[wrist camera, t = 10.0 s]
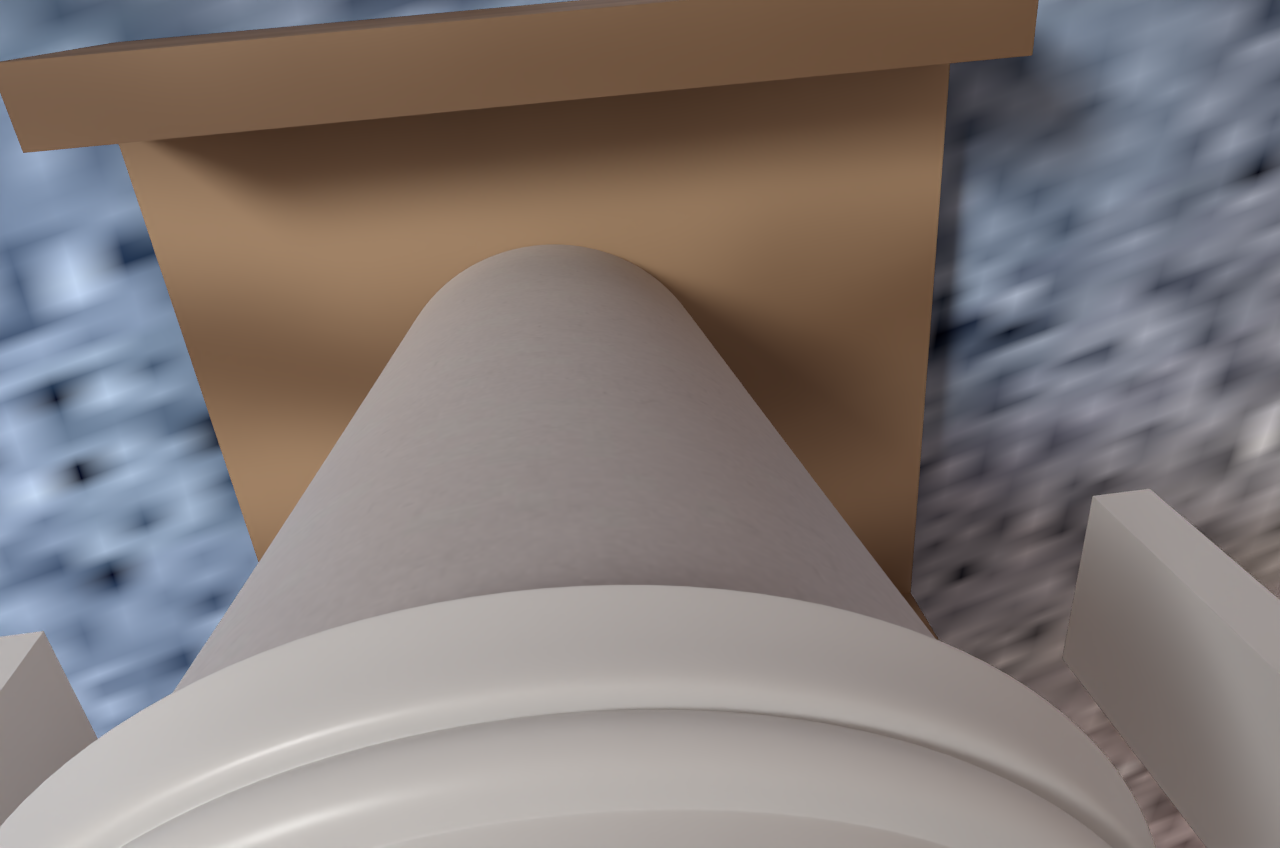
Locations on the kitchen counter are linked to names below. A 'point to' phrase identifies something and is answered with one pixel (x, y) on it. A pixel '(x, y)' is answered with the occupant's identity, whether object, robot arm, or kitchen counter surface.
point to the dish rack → (546, 202)
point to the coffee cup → (576, 628)
